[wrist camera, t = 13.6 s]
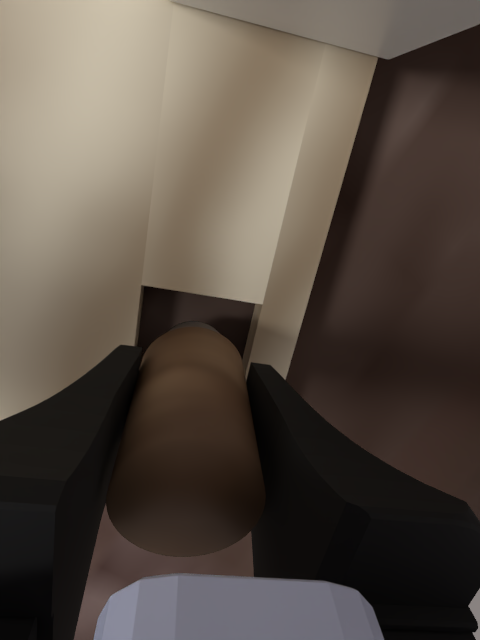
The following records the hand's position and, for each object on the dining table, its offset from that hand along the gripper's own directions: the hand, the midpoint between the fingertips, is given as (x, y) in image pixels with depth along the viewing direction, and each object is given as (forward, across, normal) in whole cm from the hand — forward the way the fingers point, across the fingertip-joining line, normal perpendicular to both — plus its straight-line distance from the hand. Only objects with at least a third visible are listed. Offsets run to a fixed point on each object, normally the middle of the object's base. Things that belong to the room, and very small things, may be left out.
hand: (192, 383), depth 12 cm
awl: (+2, 0, 0) cm, 2 cm away
